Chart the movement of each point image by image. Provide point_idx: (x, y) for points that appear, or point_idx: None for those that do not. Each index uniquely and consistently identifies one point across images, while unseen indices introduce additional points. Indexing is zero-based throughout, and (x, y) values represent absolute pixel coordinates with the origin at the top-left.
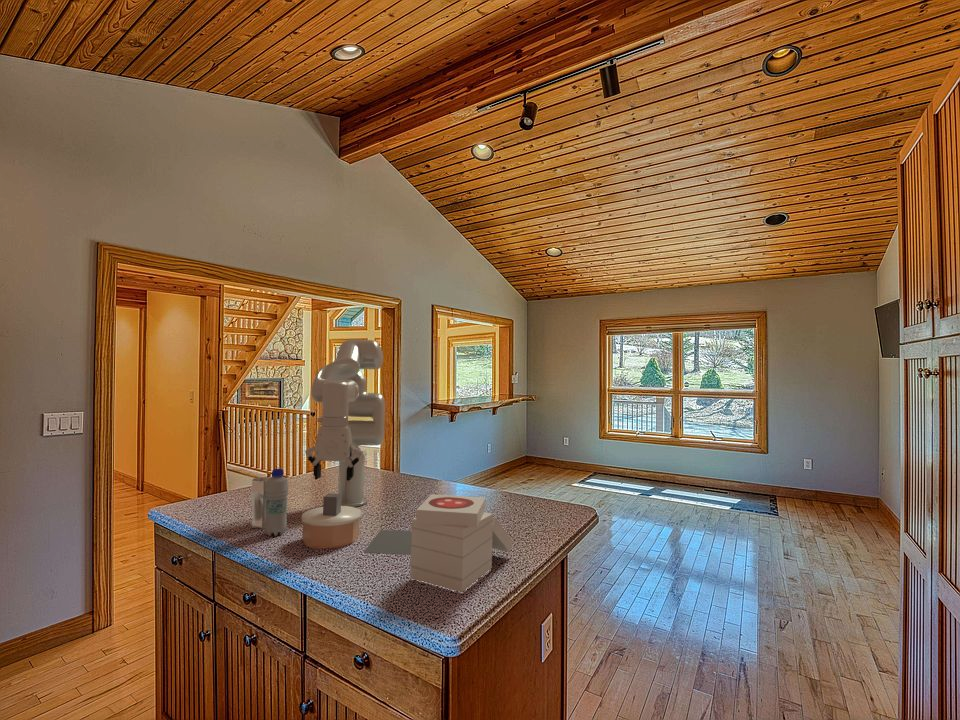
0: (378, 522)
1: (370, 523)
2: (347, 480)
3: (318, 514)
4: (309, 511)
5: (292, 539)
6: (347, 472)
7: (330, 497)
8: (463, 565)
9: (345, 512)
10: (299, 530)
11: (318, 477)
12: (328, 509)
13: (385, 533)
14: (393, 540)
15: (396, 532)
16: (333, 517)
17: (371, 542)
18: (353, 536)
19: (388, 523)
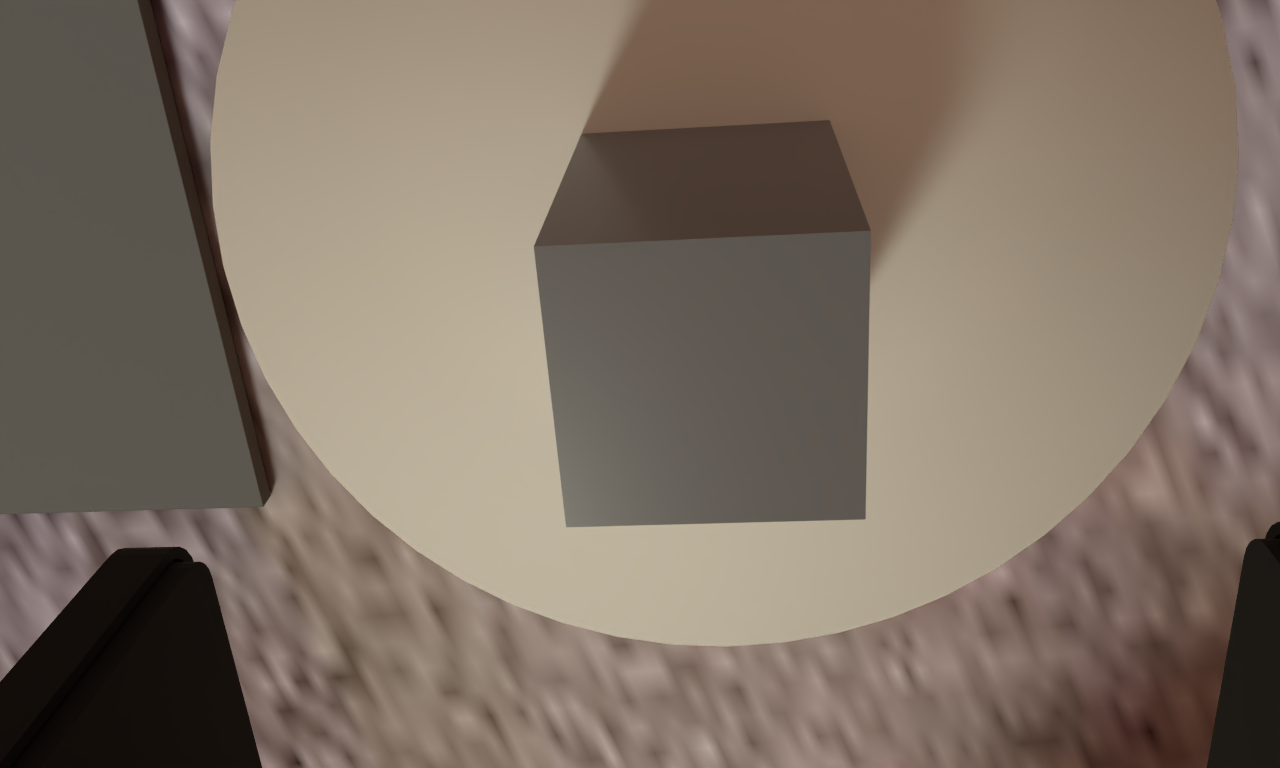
0: (429, 743)
1: (499, 708)
2: (174, 552)
3: (932, 163)
4: (1153, 299)
5: (1238, 93)
6: (17, 719)
7: (693, 235)
8: None
9: (515, 345)
10: (1243, 409)
11: (1243, 649)
12: (729, 154)
13: (149, 403)
14: None
15: (49, 452)
16: (592, 39)
17: (153, 88)
18: None
19: (312, 728)
